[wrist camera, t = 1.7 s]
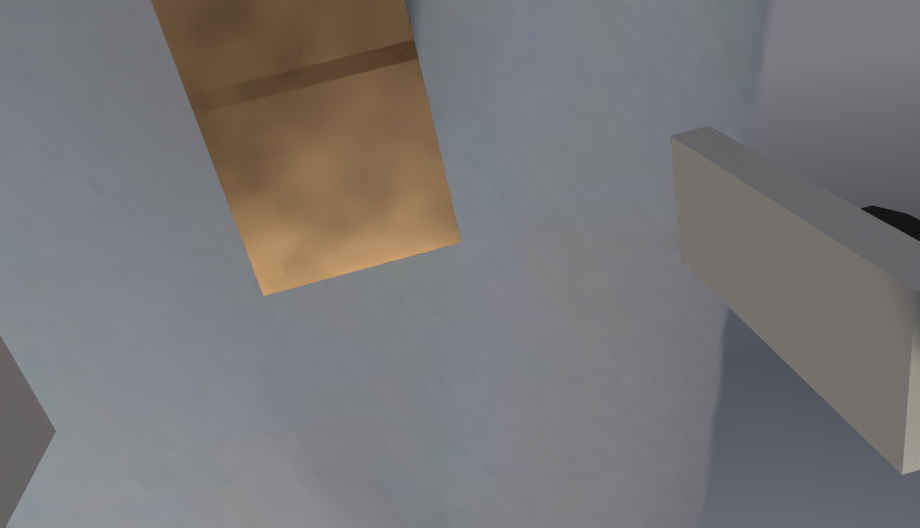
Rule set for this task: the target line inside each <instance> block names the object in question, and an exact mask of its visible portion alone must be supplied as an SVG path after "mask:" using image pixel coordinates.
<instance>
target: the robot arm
mask: <svg viewBox="0 0 920 528" xmlns="http://www.w3.org/2000/svg"><path fill="white" fill-rule="evenodd" d="M671 143H672V155H673V166H674V178H675V189H676V201H677V212H678V224H679V235H680V247H681V258H682V262H683V263H684V264H685V265H686V266H687V267H688V268H689V269H690V270H691V271H692V272H693V273H694V274H695V275H696V276H698V277H699V278H700V279H701V280H702V281H703V282H704V283H705V284H706V285H707V286H708V287H709V288H710V289H711V290H712V291H713V292H714V293H715V294H716V295H717V296H718V297H719V298H720V299H721V300H722V301H723V302H724V303H725V304H726V305H727V306H728V307H730V308H731V309H732V310H733V311H734V312H735V313H736V314H737V315H738V316H739V317H740V318H741V319H742V320H743V321H744V322H745V323H746V324H747V325H748V326H749V327H750V328H751V329H752V330H753V331H754V332H755V333H756V334H757V335H759V337H761V338H762V339H763V340H764V341H765V342H766V343H767V344H768V345H769V346H770V347H771V348H772V349H773V350H774V351H775V352H776V353H777V354H778V355H779V356H780V357H781V358H782V359H783V360H784V361H785V362H786V363H787V364H788V365H789V366H790V367H792V368H793V369H794V370H795V371H796V372H797V373H798V374H799V375H800V376H801V377H802V378H803V379H804V380H805V381H806V382H807V383H808V384H809V385H810V386H811V387H812V388H813V389H814V390H815V391H816V392H817V393H818V394H819V395H821V396H822V398H824V399H825V400H826V401H827V402H828V403H829V404H830V405H831V406H832V407H833V408H834V409H835V410H836V411H837V412H838V413H839V414H840V415H841V416H842V417H843V418H844V419H845V420H846V421H847V422H848V423H849V424H850V425H852V427H854V429H856V430H857V431H858V432H859V433H860V434H861V435H862V436H863V437H864V438H865V439H866V440H867V441H868V442H869V443H870V444H871V445H872V446H873V447H874V448H875V449H876V450H877V451H878V452H879V453H880V454H881V455H882V456H883V457H884V458H885V459H887V460H888V461H889V462H890V463H891V464H892V465H893V466H894V467H895V468H896V469H897V470H898V471H899V472H900V473H901V474H902V475H903V474H906V473H910V472H913V471H917V470H920V220H918V219H916V218H915V217H913V216H910V215H909V214H906V213H902V212H898V211H893V210H889V209H885V208H880V207H877V206H869V207H865V208H861V209H860V208H858V207H856V206H854V205H852V204H850V203H849V202H847V201H845V200H843V199H841V198H839V197H837V196H836V195H834V194H832V193H830V192H828V191H827V190H825V189H823V188H821V187H819V186H818V185H816V184H814V183H812V182H810V181H808V180H806V179H805V178H803V177H801V176H799V175H797V174H796V173H794V172H792V171H790V170H788V169H786V168H784V167H783V166H781V165H779V164H777V163H775V162H774V161H772V160H770V159H768V158H766V157H764V156H763V155H761V154H759V153H757V152H755V151H754V150H752V149H750V148H748V147H746V146H744V145H743V144H741V143H739V142H737V141H735V140H733V139H732V138H730V137H728V136H726V135H724V134H722V133H721V132H719V131H717V130H715V129H713V128H711V127H710V126H707V127H703V128H699V129H695V130H691V131H688V132H684V133H680V134H676V135H672V136H671ZM55 432H56V430H55V429H54V427H53V425H52V423H51V422H50V420H49V418H48V417H47V415H46V413H45V411H44V410H43V408H42V406H41V405H40V403H39V401H38V399H37V398H36V396H35V394H34V393H33V391H32V389H31V387H30V386H29V384H28V382H27V380H26V379H25V377H24V375H23V374H22V372H21V370H20V368H19V367H18V365H17V363H16V362H15V360H14V358H13V356H12V355H11V353H10V351H9V350H8V348H7V346H6V344H5V343H4V341H3V339H2V337H1V336H0V528H5V527H6V525H7V523H8V521H9V519H10V517H11V516H12V514H13V512H14V510H15V508H16V506H17V504H18V502H19V500H20V498H21V496H22V495H23V493H24V491H25V489H26V487H27V485H28V483H29V481H30V479H31V477H32V476H33V474H34V472H35V470H36V468H37V466H38V464H39V462H40V460H41V458H42V456H43V455H44V453H45V451H46V449H47V447H48V445H49V443H50V441H51V439H52V437H53V436H54V434H55Z"/></svg>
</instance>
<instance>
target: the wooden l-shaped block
mask: <svg viewBox="0 0 920 528" xmlns="http://www.w3.org/2000/svg"><path fill="white" fill-rule="evenodd" d="M151 2H152V4H153V7H154V9H155V12H156V15H157V17H158V20H159V23H160V25H161V28H162V30H163V33H164V36H165V38H166V41H167V44H168V46H169V49H170V51H171V54H172V57H173V59H174V62H175V65H176V67H177V70H178V72H179V75H180V78H181V80H182V83H183V86H184V88H185V91H186V93H187V96H188V99H189V101H190V104H191V106H192V109H193V112H194V114H195V117H196V120H197V122H198V125H199V127H200V130H201V133H202V135H203V138H204V141H205V143H206V146H207V148H208V151H209V154H210V156H211V159H212V162H213V164H214V167H215V169H216V172H217V175H218V177H219V180H220V183H221V185H222V188H223V190H224V193H225V196H226V198H227V201H228V204H229V206H230V209H231V211H232V214H233V217H234V219H235V222H236V224H237V227H238V230H239V232H240V235H241V238H242V240H243V243H244V245H245V248H246V251H247V253H248V256H249V259H250V261H251V264H252V266H253V269H254V272H255V274H256V277H257V280H258V282H259V285H260V287H261V290H262V293H263V295H264V296H265V295H269V294H272V293H276V292H280V291H283V290H287V289H291V288H294V287H298V286H302V285H306V284H309V283H313V282H317V281H320V280H324V279H328V278H331V277H335V276H339V275H343V274H346V273H350V272H354V271H357V270H361V269H365V268H368V267H372V266H376V265H380V264H383V263H387V262H391V261H394V260H398V259H402V258H405V257H409V256H413V255H416V254H420V253H424V252H428V251H431V250H435V249H439V248H442V247H446V246H450V245H453V244H457V243H461V239H460V234H459V230H458V226H457V222H456V217H455V213H454V209H453V204H452V200H451V196H450V192H449V187H448V183H447V179H446V175H445V170H444V166H443V162H442V157H441V153H440V149H439V145H438V140H437V136H436V132H435V128H434V123H433V119H432V115H431V110H430V106H429V102H428V98H427V93H426V89H425V85H424V81H423V76H422V72H421V68H420V64H419V59H418V55H417V51H416V46H415V42H414V38H413V34H412V29H411V25H410V21H409V17H408V12H407V8H406V4H405V0H151Z"/></svg>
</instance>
